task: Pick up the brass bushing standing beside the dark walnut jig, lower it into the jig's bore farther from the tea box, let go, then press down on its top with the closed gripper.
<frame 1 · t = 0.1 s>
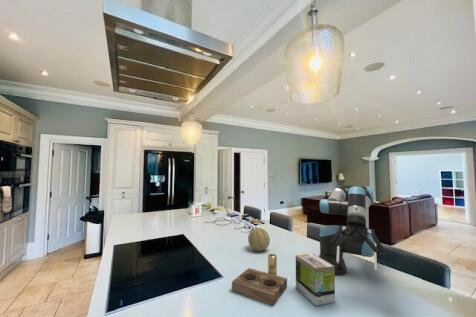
hand: (355, 266, 88), 15 cm above the worktop, tool tilted 35°, fingers open, 13 cm apart
jig: (259, 288, 98), on the worktop
tea box: (314, 294, 94), on the worktop
cantaloupe: (258, 250, 145), on the worktop
bushing: (272, 275, 111), on the worktop
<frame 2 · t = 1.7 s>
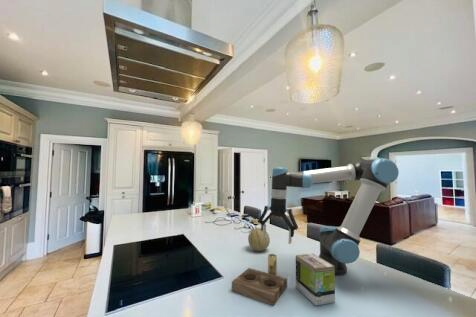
hand: (276, 240, 108), 19 cm above the worktop, tool pointing down, fingers open, 13 cm apart
nothing on the worktop moved.
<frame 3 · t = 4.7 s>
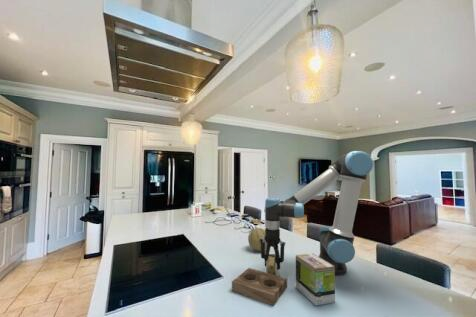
hand: (272, 274, 111), 1 cm above the worktop, tool pointing down, fingers closed on bushing, 4 cm apart
bushing: (272, 275, 111), on the worktop, touching gripper
everything else where it was.
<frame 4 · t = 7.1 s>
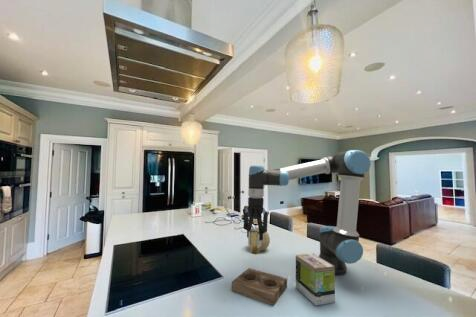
hand: (254, 245, 104), 17 cm above the worktop, tool pointing down, fingers closed on bushing, 4 cm apart
bushing: (254, 252, 104), point 14 cm above the worktop, touching gripper
everything else where it was.
when the fingers open (5 cm above the worktop, at t = 9.3 s): bushing drops 2 cm, resting in jig.
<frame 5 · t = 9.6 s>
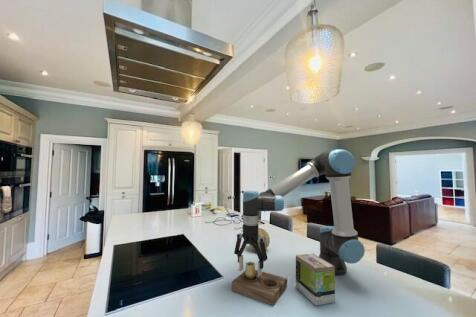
hand: (250, 272, 101), 6 cm above the worktop, tool pointing down, fingers open, 9 cm apart
bushing: (250, 285, 100), resting in jig
everything else where it was.
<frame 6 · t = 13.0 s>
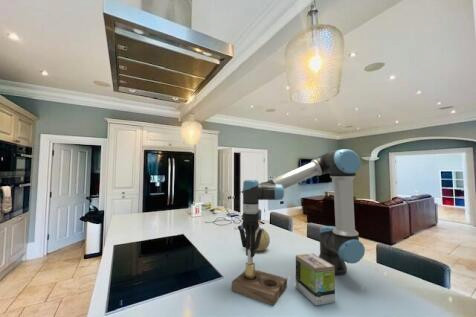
hand: (250, 263, 101), 10 cm above the worktop, tool pointing down, fingers closed
bushing: (250, 285, 100), resting in jig, touching gripper
everything else where it was.
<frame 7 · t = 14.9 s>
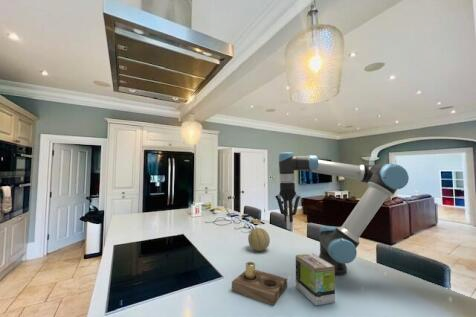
hand: (289, 228, 110), 24 cm above the worktop, tool pointing down, fingers closed
bushing: (250, 285, 100), resting in jig
everything else where it was.
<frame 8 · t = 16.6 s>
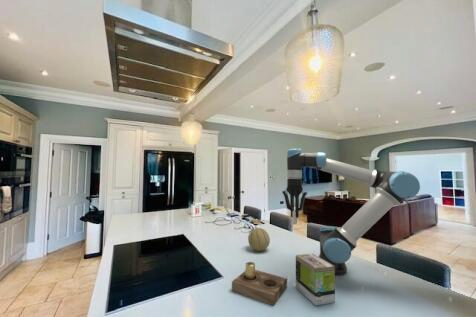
hand: (294, 223, 112), 26 cm above the worktop, tool pointing down, fingers closed
nothing on the worktop moved.
at the end: bushing 0.1 cm from the target spot on the jig, point 0.0 cm above the jig's base; bushing tilted 0° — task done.
